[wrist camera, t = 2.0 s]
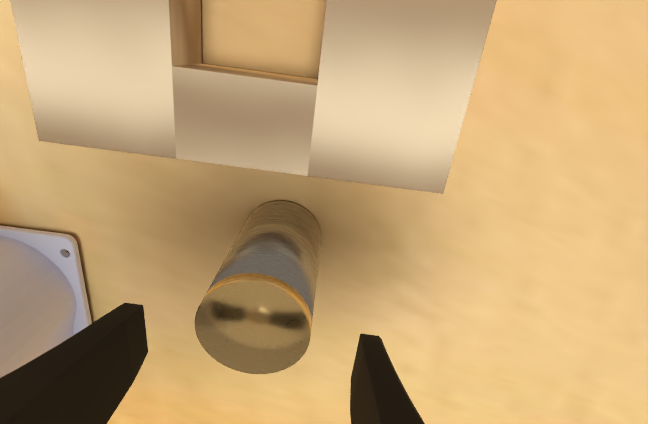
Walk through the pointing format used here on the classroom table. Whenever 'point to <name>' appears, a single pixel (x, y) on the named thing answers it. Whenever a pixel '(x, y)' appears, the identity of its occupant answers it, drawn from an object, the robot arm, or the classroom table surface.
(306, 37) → the classroom table surface
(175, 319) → the classroom table surface
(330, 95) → the block
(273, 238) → the pin
